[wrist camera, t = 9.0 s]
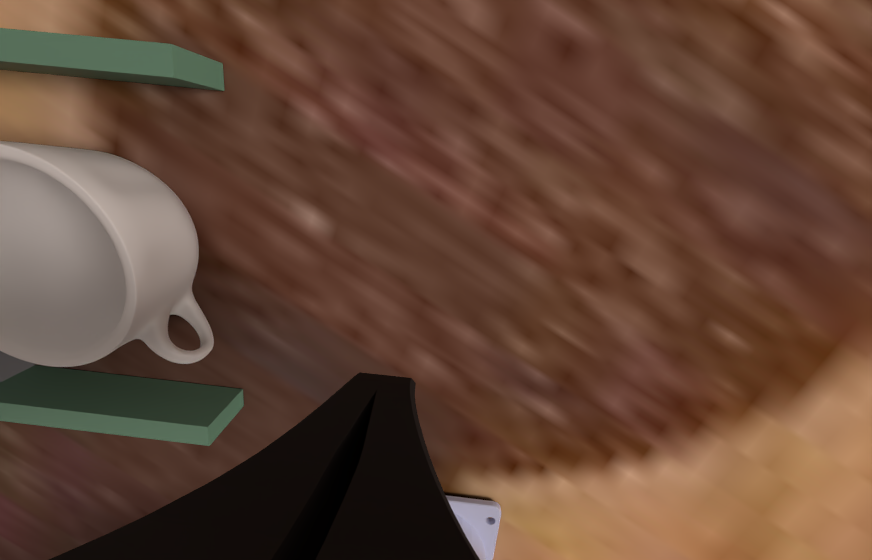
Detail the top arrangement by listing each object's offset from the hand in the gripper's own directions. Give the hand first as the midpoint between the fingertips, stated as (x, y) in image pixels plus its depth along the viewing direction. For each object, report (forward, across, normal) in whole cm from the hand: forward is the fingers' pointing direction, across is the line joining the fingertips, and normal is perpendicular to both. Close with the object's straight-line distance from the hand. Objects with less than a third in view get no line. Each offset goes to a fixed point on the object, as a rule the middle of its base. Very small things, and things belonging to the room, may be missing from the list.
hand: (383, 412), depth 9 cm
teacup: (+10, +12, 0) cm, 15 cm away
